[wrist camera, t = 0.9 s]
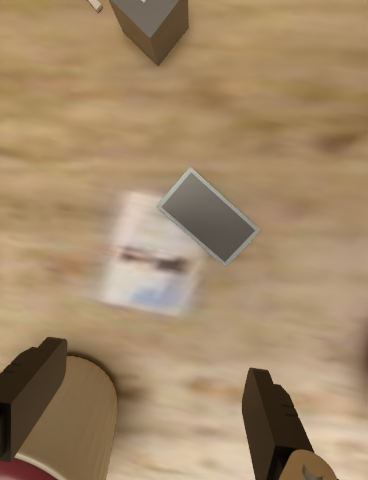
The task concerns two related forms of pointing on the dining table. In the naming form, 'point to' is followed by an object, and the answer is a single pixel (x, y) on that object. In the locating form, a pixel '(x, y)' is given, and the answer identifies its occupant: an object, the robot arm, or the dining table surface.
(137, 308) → the dining table surface
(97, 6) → the cable
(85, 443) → the canister
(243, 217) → the phone
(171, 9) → the charger
